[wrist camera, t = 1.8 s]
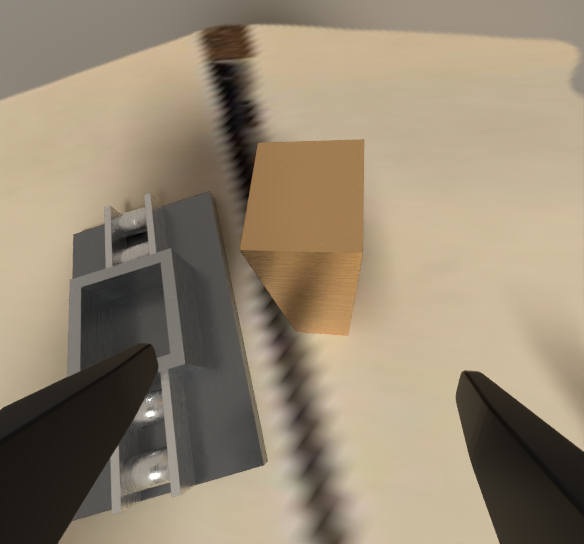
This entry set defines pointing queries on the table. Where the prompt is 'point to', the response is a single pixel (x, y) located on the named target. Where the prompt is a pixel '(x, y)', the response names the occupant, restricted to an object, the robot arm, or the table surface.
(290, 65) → the table surface
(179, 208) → the grey fixture tray
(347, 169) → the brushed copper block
